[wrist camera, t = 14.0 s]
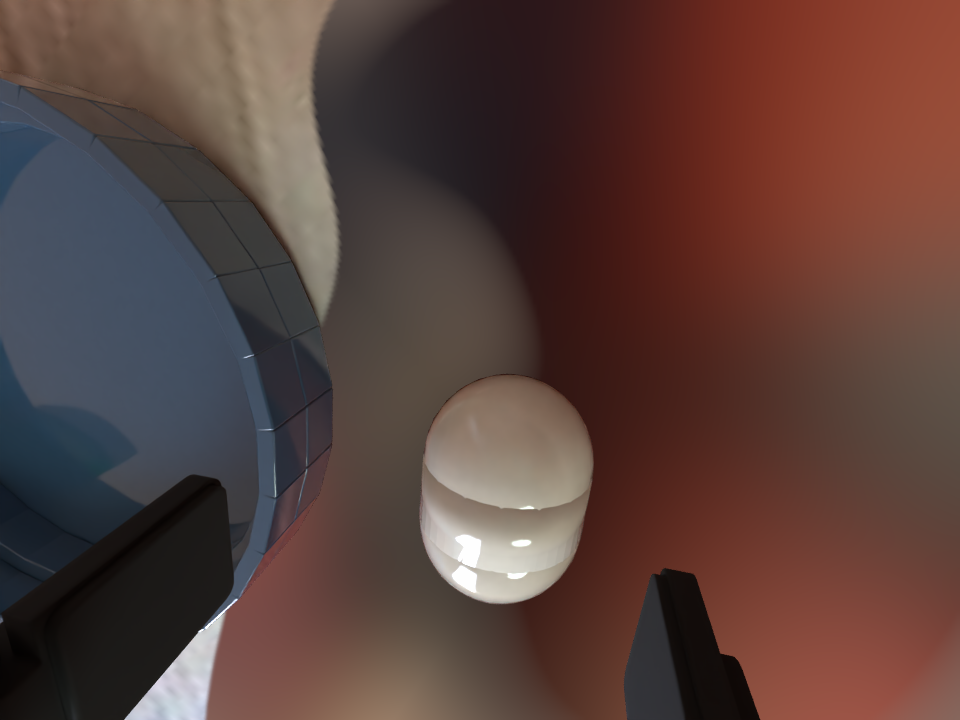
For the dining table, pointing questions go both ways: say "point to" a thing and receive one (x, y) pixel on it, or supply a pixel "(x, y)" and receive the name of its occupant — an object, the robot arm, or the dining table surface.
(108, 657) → the robot arm
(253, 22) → the dining table surface
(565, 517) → the egg
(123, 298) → the basin
